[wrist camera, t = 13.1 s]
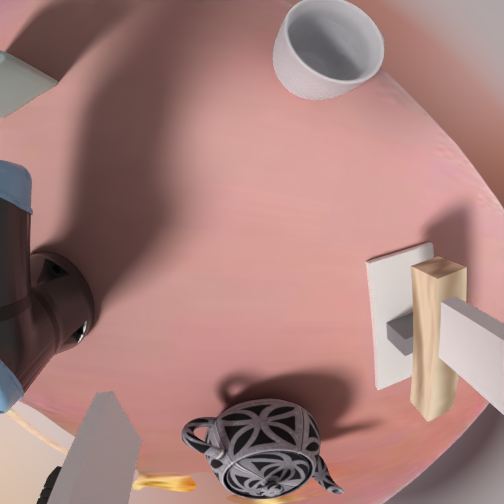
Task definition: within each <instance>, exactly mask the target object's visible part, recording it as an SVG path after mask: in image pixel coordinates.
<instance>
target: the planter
mask: <svg viewBox="0 0 504 504" xmlns="http://www.w3.org/2000/svg"><path fill="white" fill-rule="evenodd" d="M57 84H58V81H57V80H55V79H53V78H52V77H50V76H48V75H46V74H45V73H43V72H41V71H39V70H38V69H36V68H34V67H32V66H31V65H29V64H27V63H25V62H24V61H22V60H20V59H18V58H16V57H14V56H13V55H11V54H9V53H6V52H3V51H0V117H2V118H4V117H6V116H8V115H9V114H11V113H13V112H15V111H16V110H18V109H19V108H21V107H22V106H24V105H25V104H27V103H28V102H30V101H31V100H33V99H34V98H36V97H37V96H39V95H40V94H42V93H44V92H46V91H47V90H49V89H51V88H53V87H54V86H56V85H57Z"/></svg>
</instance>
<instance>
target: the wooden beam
mask: <svg viewBox="0 0 504 504" xmlns="http://www.w3.org/2000/svg"><path fill="white" fill-rule="evenodd" d="M411 278H412V297H413V366H412V385H411V399H410V401H411V402H412V404H413V405H414V406H415V407H416V408H417V410H418V411H419V412H420V413H421V414H422V416H423V417H424V418H425V419H426V421H427V422H429V421H431V420H432V419H434V418H436V417H438V416H440V415H442V414H444V413H445V412H447V411H449V410H451V409H452V408H453V404H454V399H455V394H456V389H457V383H458V377H459V374H457V373H456V372H455V371H454V370H453V369H452V368H451V367H449V366H448V365H447V364H446V363H445V362H444V361H443V360H441V359H440V358H439V344H440V324H441V302H442V301H444V300H446V299H448V298H451V297H453V296H456V297H458V298H459V299H461V300H463V301H465V302H466V288H467V267H465V266H463V265H460V264H458V263H455V262H453V261H450V260H448V259H445V258H443V257H440V256H438V257H435V258H432V259H429V260H426V261H423V262H420V263H418V264H415V265H412V266H411Z"/></svg>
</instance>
